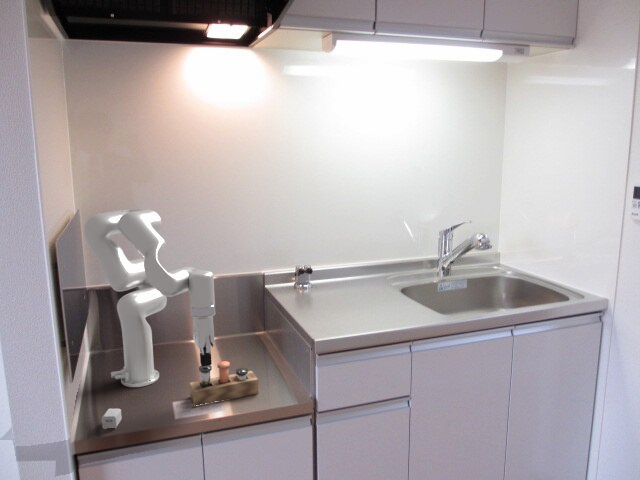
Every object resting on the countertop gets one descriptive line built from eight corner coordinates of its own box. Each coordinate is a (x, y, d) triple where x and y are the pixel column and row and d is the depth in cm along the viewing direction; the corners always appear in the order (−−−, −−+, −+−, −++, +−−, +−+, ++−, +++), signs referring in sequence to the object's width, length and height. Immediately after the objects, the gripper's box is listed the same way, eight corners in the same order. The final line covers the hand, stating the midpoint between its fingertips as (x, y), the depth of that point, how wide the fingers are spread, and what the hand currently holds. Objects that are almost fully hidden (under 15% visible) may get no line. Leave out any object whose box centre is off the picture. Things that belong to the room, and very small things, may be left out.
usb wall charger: (102, 429, 149) (101, 416, 148) (111, 416, 156) (110, 404, 155) (116, 428, 149) (115, 416, 148) (124, 416, 156) (123, 403, 155)
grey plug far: (238, 393, 168) (237, 374, 167) (234, 387, 172) (234, 368, 170) (249, 390, 170) (249, 371, 168) (246, 385, 173) (245, 366, 172)
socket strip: (194, 406, 161) (194, 392, 160) (190, 396, 167) (189, 382, 166) (258, 393, 170) (258, 379, 169) (252, 384, 176) (251, 370, 175)
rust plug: (219, 387, 165) (219, 367, 164) (216, 381, 169) (216, 362, 167) (231, 384, 167) (231, 365, 165) (228, 379, 170) (228, 360, 169)
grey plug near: (201, 390, 163) (200, 370, 161) (198, 385, 166) (197, 365, 165) (213, 388, 164) (212, 368, 163) (210, 382, 168) (209, 363, 166)
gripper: (186, 305, 165) (189, 358, 168) (195, 319, 152) (199, 376, 155) (209, 301, 168) (212, 354, 172) (220, 315, 155) (223, 371, 158)
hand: (206, 364), depth 163 cm, fingers closed
